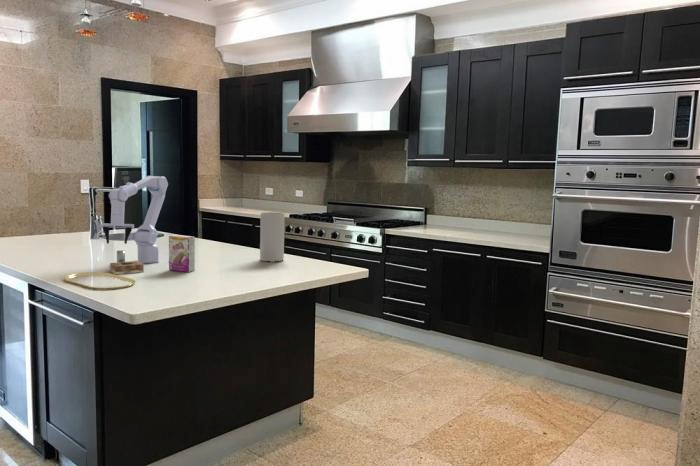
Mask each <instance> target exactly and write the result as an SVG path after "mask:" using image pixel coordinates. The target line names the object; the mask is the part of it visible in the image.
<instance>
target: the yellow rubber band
mask: <svg viewBox="0 0 700 466" xmlns="http://www.w3.org/2000/svg"><path fill="white" fill-rule="evenodd" d="M86 275H90V276H100V275H104V276H103V277H107V276H109V277H108V278H111V277H113V278H112V279H115V278H117V279H116V280H119V279H120V281H123V282H127V281H128V282H127V283H130V282H131V283H130V284H127V285H126V284H125V285H119V286H110V287H108V286H107V287H106V286H105V287H104V286H102V287H101V286H99V287H96V286H89V285H86V284H83V283H79V282H76V281H73V280H71V279H74V278H77V277H78V276H79V277H87V276H86ZM79 277H78V278H79ZM64 281H65V282H67V283H70V284H74V285H76V284H77V286H81V287H83V286H84V288H86V289H87V288H88V289H90V288H92V289H91V290H96V289H113V290H119V289H118V288H121V289H126V288H125V287H127V288H129V286H130V287H132V286H133V285H135V283H136V280H135V279H134V278H129V277H125V276H121V275H119V274H115V273H110V272H102V271H101V272H99V271H96V272H93V271H92V272H79V273H73V274H68V275H66V276H65V277H64Z"/></svg>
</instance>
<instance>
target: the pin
mask: <svg viewBox="0 0 700 466" xmlns="http://www.w3.org/2000/svg"><path fill="white" fill-rule="evenodd" d="M125 252H126V251H125V250H119V249H118V250H116V263H117V262H126V253H125Z"/></svg>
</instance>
